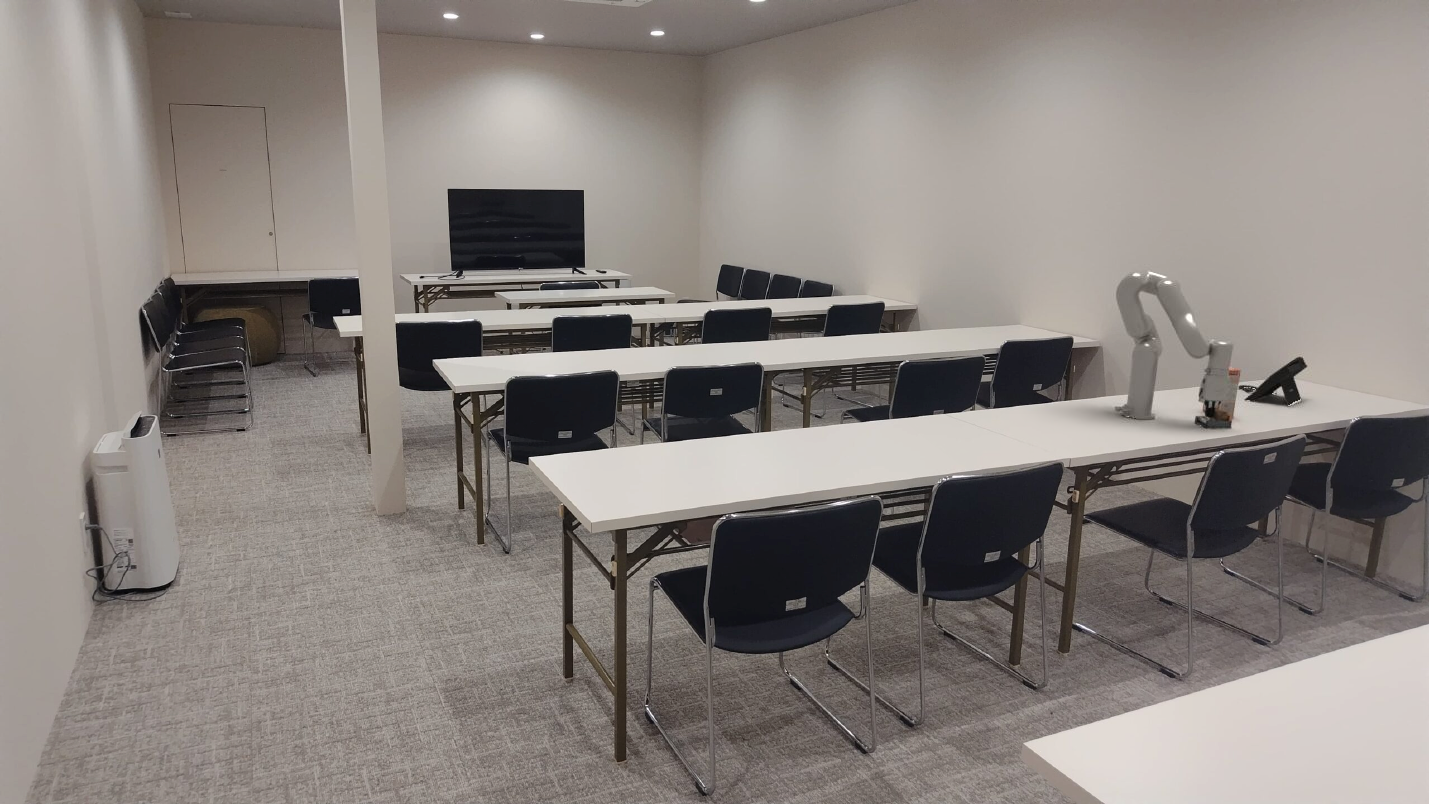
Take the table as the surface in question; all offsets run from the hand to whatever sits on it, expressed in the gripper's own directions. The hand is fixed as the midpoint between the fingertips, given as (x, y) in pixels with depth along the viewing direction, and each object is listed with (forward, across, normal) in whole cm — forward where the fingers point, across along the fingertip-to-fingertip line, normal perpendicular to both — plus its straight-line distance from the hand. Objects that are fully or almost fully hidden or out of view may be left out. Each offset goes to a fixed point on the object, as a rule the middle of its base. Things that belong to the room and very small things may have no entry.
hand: (1209, 416), depth 356 cm
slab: (+1, +4, 0) cm, 4 cm away
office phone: (+4, +57, +49) cm, 76 cm away
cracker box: (+4, +15, +16) cm, 22 cm away
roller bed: (+4, +2, 0) cm, 4 cm away
